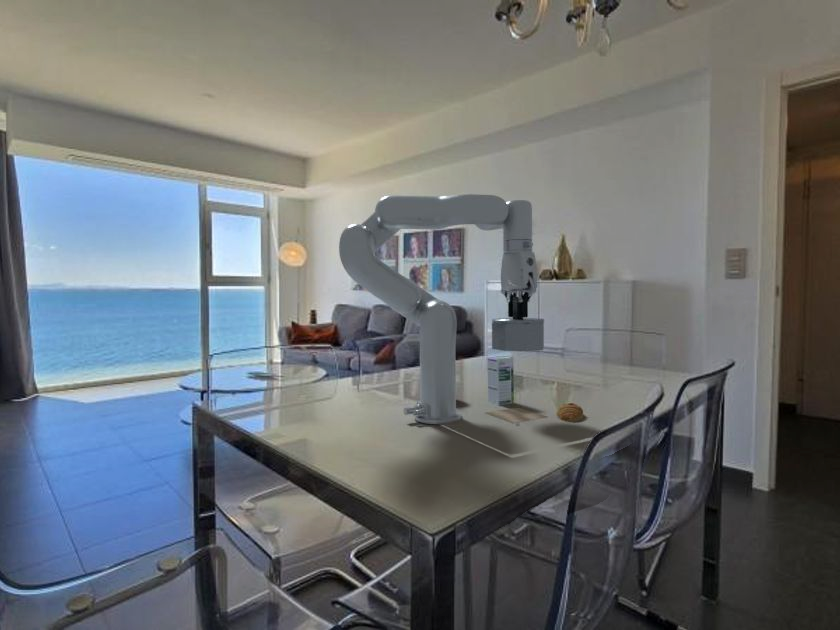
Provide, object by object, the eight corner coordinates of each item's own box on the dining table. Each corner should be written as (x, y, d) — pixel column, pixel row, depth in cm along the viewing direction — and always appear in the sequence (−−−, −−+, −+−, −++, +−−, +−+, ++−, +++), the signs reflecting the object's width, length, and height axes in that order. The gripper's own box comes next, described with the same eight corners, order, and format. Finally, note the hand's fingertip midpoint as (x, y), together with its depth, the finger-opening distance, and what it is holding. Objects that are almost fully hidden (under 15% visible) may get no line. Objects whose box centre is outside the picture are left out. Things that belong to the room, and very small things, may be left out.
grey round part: (515, 352, 118) (514, 297, 117) (482, 347, 130) (481, 297, 129) (555, 348, 124) (555, 296, 124) (520, 344, 136) (520, 296, 136)
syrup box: (498, 407, 139) (497, 358, 139) (487, 403, 145) (487, 355, 144) (514, 405, 141) (514, 356, 141) (502, 401, 147) (502, 354, 146)
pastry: (583, 426, 119) (583, 411, 119) (555, 424, 122) (555, 409, 121) (583, 416, 128) (583, 402, 128) (557, 415, 130) (557, 401, 130)
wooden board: (512, 425, 120) (512, 422, 120) (484, 415, 130) (484, 412, 130) (548, 418, 125) (548, 416, 125) (518, 409, 136) (518, 407, 136)
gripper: (550, 245, 121) (550, 317, 121) (508, 251, 135) (509, 315, 136) (527, 244, 117) (528, 318, 118) (487, 250, 131) (488, 316, 132)
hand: (517, 316), depth 127 cm, fingers closed on grey round part, 2 cm apart
